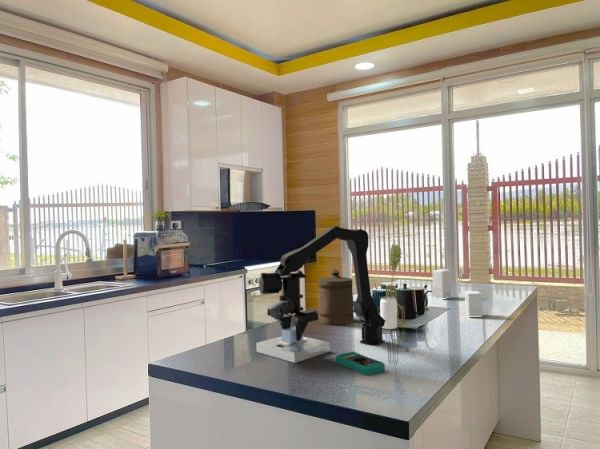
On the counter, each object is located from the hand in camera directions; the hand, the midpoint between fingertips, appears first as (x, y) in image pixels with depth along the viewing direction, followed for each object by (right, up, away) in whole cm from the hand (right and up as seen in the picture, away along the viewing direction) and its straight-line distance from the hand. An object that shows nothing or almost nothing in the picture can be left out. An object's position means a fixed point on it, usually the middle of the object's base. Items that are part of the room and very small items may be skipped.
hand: (292, 339), depth 147 cm
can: (+38, -3, +30) cm, 48 cm away
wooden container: (+18, -4, +44) cm, 48 cm away
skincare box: (+79, -2, +94) cm, 123 cm away
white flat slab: (0, -4, 0) cm, 4 cm away
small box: (+78, -2, +48) cm, 91 cm away
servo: (0, -4, 0) cm, 4 cm away
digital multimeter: (+20, -4, -17) cm, 26 cm away
